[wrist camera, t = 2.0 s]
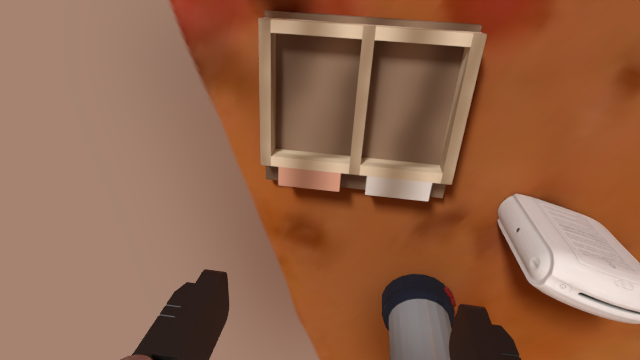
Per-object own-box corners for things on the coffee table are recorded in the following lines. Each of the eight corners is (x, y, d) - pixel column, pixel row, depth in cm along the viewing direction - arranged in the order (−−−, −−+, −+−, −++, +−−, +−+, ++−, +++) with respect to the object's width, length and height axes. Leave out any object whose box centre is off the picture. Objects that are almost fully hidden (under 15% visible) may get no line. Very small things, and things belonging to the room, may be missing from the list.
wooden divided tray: (477, 24, 32) (488, 27, 29) (440, 191, 39) (446, 208, 36) (269, 10, 34) (258, 11, 31) (269, 173, 41) (260, 187, 38)
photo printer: (488, 220, 40) (531, 306, 29) (509, 186, 38) (564, 264, 27) (579, 251, 40) (656, 348, 29) (604, 218, 38) (698, 309, 27)
